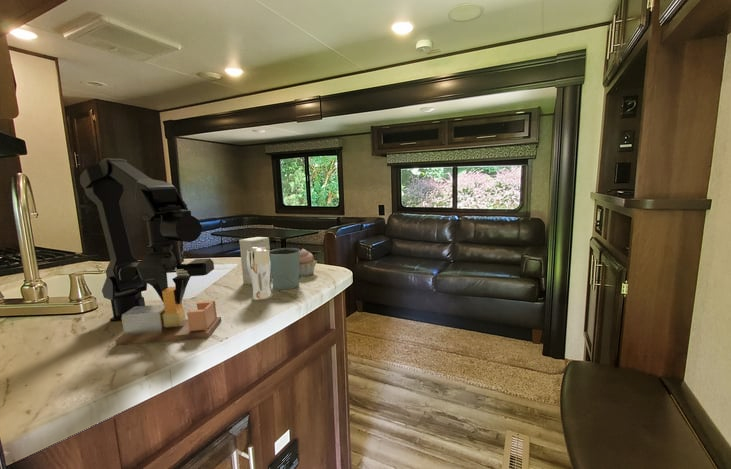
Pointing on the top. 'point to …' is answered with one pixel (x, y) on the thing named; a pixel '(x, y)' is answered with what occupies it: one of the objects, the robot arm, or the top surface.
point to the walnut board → (168, 334)
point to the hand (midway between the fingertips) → (173, 304)
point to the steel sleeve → (143, 320)
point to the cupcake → (306, 263)
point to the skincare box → (244, 246)
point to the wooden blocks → (171, 309)
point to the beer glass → (260, 272)
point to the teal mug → (285, 268)
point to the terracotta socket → (202, 316)
